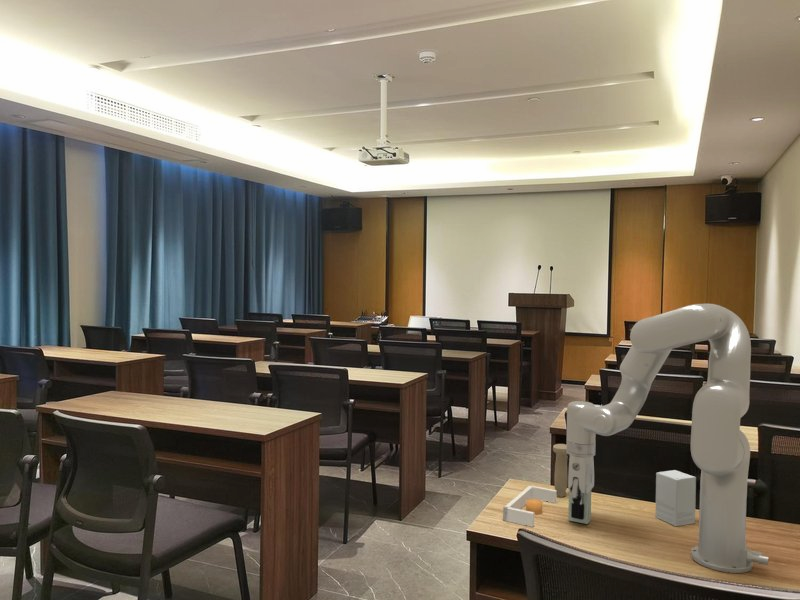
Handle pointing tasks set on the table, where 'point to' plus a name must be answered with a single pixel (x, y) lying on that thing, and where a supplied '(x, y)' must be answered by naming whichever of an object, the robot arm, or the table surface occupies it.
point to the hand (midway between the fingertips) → (579, 514)
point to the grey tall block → (586, 508)
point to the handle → (560, 469)
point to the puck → (534, 506)
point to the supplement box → (675, 497)
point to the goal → (513, 508)
